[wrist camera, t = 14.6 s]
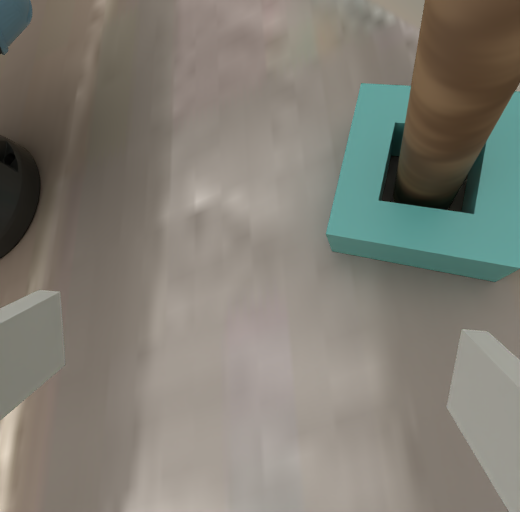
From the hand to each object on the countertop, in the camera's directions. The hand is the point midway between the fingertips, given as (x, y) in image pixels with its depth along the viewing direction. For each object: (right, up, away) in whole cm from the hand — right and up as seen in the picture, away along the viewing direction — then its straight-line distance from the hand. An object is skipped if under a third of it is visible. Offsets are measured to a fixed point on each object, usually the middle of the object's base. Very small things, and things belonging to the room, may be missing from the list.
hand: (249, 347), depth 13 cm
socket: (+13, +8, +18) cm, 24 cm away
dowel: (+13, +8, +18) cm, 24 cm away
